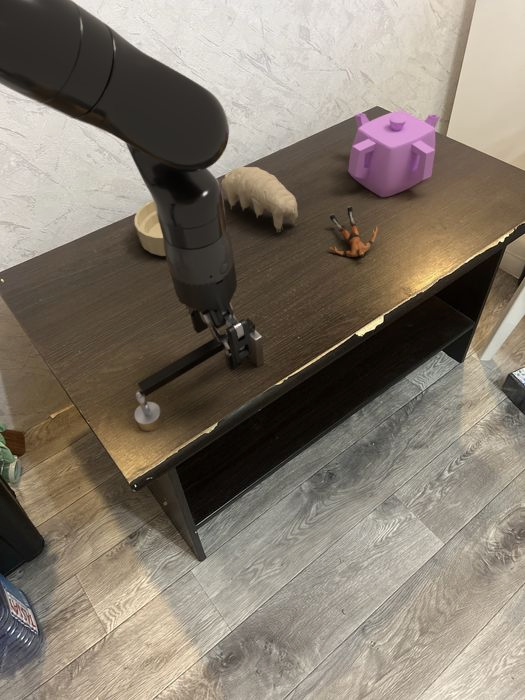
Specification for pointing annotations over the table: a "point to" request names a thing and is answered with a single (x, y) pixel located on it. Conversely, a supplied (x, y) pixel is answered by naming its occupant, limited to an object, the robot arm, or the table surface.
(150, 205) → the bowl
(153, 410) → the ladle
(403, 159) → the teakettle
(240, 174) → the model
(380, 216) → the table surface
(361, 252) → the figurine
